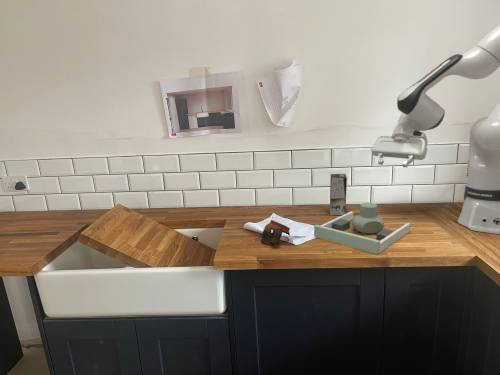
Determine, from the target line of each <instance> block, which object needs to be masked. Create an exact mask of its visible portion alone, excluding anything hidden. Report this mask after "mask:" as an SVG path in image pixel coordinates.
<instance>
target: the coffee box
mask: <svg viewBox="0 0 500 375" xmlns="http://www.w3.org/2000/svg"><path fill="white" fill-rule="evenodd" d="M347 177H348V176H347V175H346V173H330V180H329V181H330V183H329V184H330V188H329V191H330V192H329V214H330V216H342V215H344V214H346V207H347V205H346V204H347V185H348V183H347V181H348V178H347Z"/></svg>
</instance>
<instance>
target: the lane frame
mask: <svg viewBox="0 0 500 375" xmlns="http://www.w3.org/2000/svg"><path fill="white" fill-rule="evenodd" d="M353 218H354V211H348V212H347V213H345V214H344V215H339V216H337V217H336V218H334V219H331V220H329V221H327V222H325V223H323V224H321V225H319V224H315V225H314V226H313V231H314V232H313V237H315V238H318V239H321V240H325V241H329V242H331V243H332V242H333V243H335V244H340V245H342V246H346V247H350V248H354V249H357V250H360V251H364V252H368V253H371V254H373V255H379V254H380V253H382V251H384V250H386V249H387V248H389V247H390V246H391V245H392V244H394V243H396V242H397V241H398V240H400V239H401V238H403V237H404V236H405V235H406V234H409V232H410V231H411V230H410V229H411V223H409V222H407V223H405V224H403V225H402V226H401V227H399V228H397V229H396V230H394V232H393V233H391V234H390V235H388V236H387V237H385V238H384V239H382V240H381V241H379V240H376V239H375V238H371V237H366V236H362V235H359V234H354V233H352V232H351V233H350V232H348V231H340V230H336V229H332V223H334V222H336V221H338V220H340V219H342V220H346V221H350V222H351V221H352V220H353Z"/></svg>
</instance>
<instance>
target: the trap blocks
mask: <svg viewBox="0 0 500 375" xmlns="http://www.w3.org/2000/svg"><path fill="white" fill-rule="evenodd" d="M350 228H351V220H350V221H346V220H342V219H340V220H338V221H336V222H334V223H332V229H336V230H340V231H344V232H346V231H347V230H348V229H350ZM394 231H395V230H394ZM394 231H393V230H390V229H382V230H381V231H379V232H377V233H376V236H375V238H376V239H375V240H379V241H381V240H382V239H384V238H385V237H387V236H388V235H390V234H391V233H393V232H394Z"/></svg>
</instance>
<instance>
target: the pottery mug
mask: <svg viewBox="0 0 500 375" xmlns="http://www.w3.org/2000/svg"><path fill="white" fill-rule="evenodd" d="M290 229H291V228H290V227H289V226H287V225H284V224H282V223H281V222H278V221H276V220H273V219H271V220H270V222H269V223H267V224H266V225H265V226H264V228H263V231H262V234H261V239H260V241H261V242H262V243H264V244H265V245H268V246H271V243H272V244H273V245H274V244H275V245H277V244H279V242H280V240H281V237H282V236H283V233H284V234H285V233H286V234H288V235H289V236H290V237H291V235H290Z"/></svg>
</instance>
